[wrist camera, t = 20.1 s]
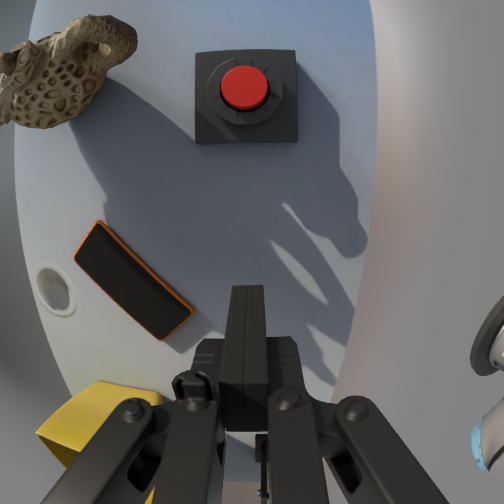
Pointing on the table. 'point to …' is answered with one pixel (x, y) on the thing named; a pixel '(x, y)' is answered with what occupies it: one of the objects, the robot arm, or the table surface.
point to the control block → (253, 120)
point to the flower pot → (86, 419)
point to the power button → (244, 87)
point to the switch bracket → (262, 463)
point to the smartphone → (131, 283)
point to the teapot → (61, 70)
